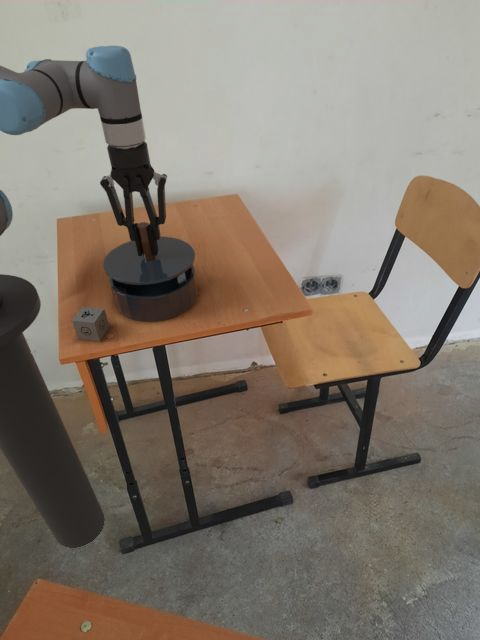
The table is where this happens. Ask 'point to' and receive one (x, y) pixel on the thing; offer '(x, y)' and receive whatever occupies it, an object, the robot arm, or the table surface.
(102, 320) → the dice cube
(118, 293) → the pot
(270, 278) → the table surface
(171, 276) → the lid
